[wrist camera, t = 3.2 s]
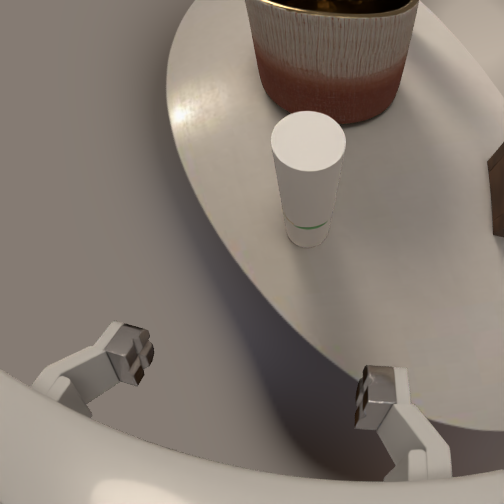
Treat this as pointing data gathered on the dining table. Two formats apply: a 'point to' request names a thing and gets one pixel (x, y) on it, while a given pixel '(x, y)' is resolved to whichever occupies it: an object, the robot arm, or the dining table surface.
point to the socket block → (497, 189)
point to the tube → (308, 173)
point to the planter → (332, 53)
